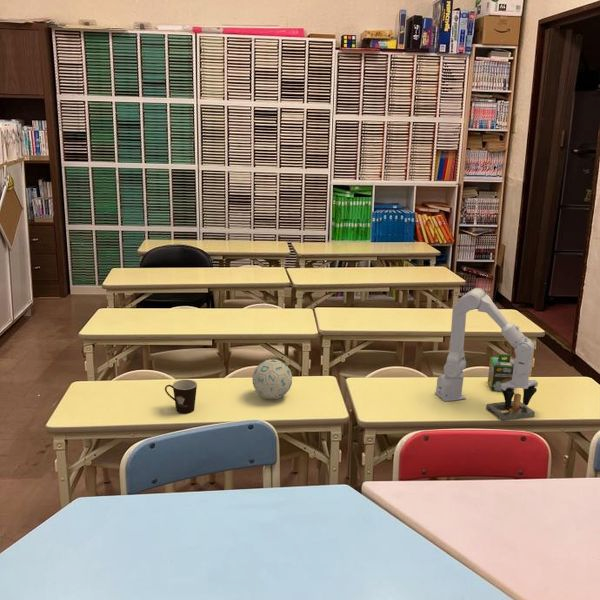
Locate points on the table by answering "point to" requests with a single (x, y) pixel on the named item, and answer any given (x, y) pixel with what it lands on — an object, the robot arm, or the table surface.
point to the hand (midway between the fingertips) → (516, 405)
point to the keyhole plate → (517, 414)
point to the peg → (515, 402)
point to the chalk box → (500, 371)
